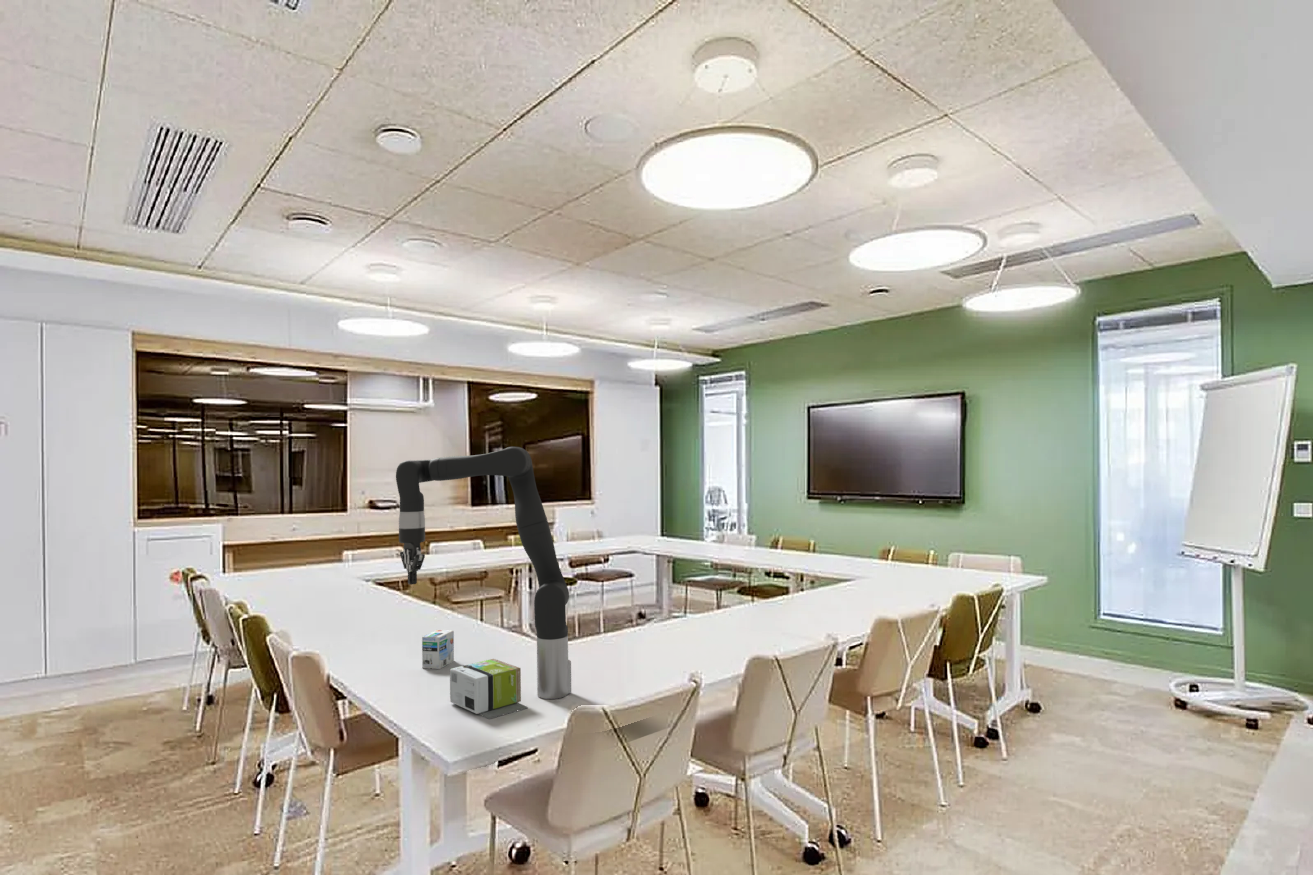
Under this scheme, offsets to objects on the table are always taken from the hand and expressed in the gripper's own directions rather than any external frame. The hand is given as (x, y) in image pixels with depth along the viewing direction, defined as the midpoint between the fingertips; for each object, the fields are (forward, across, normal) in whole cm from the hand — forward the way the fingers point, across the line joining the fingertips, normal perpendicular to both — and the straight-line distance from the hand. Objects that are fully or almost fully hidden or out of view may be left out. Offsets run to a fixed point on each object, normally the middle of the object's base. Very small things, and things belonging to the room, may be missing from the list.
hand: (412, 583), depth 219 cm
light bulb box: (+33, +25, -20) cm, 46 cm away
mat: (+33, -24, -12) cm, 43 cm away
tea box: (+28, -24, -4) cm, 37 cm away
